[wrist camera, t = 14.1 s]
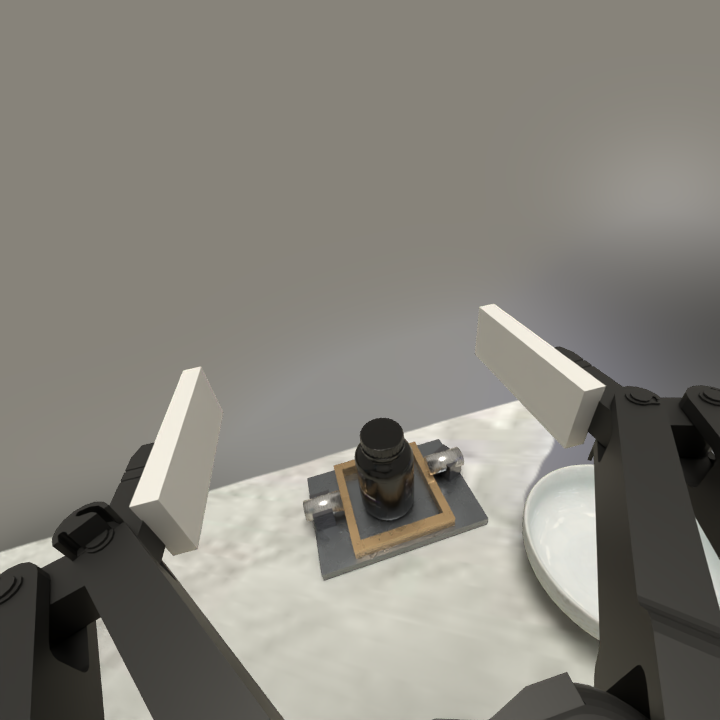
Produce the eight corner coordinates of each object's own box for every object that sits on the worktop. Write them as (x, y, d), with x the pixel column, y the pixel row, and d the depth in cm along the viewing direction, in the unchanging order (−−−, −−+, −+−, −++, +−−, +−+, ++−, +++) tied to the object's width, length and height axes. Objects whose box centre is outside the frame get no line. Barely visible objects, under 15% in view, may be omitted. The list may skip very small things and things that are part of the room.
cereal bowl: (612, 484, 42) (630, 446, 38) (774, 650, 28) (830, 618, 24) (485, 520, 40) (491, 484, 36) (593, 714, 26) (621, 691, 22)
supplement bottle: (355, 517, 41) (341, 453, 34) (368, 471, 46) (358, 408, 40) (411, 527, 39) (407, 462, 32) (418, 478, 44) (416, 413, 38)
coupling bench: (319, 581, 37) (310, 561, 34) (305, 484, 47) (297, 463, 45) (489, 523, 40) (493, 500, 37) (440, 443, 50) (440, 421, 48)
